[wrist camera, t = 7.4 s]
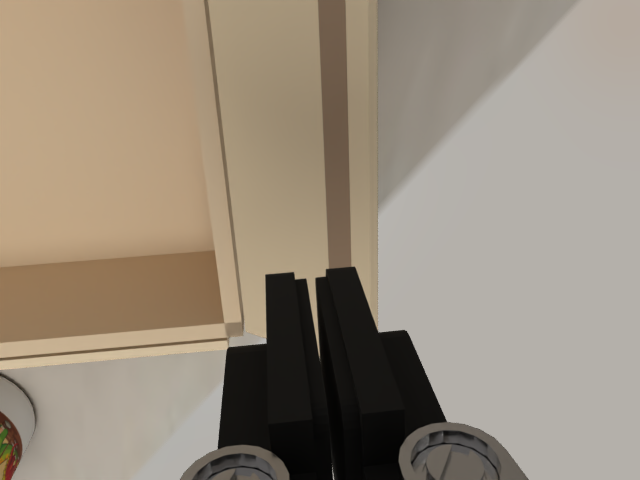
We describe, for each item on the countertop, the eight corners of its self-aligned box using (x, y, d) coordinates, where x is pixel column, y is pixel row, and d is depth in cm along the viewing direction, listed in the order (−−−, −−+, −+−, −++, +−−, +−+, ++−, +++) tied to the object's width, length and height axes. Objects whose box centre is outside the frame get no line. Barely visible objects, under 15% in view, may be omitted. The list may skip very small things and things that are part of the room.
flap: (211, -79, 20) (377, -101, 16) (254, 325, 26) (378, 366, 23) (198, -80, 19) (367, -104, 16) (245, 331, 26) (370, 375, 23)
